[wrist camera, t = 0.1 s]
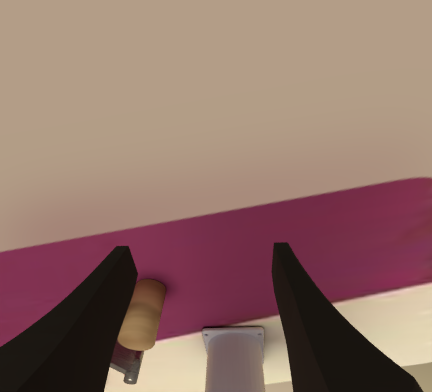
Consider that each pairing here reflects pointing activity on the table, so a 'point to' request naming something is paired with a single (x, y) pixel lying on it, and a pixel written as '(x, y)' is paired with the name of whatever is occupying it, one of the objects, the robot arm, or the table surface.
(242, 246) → the table surface
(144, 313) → the oak dowel
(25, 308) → the table surface
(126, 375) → the bent rail
